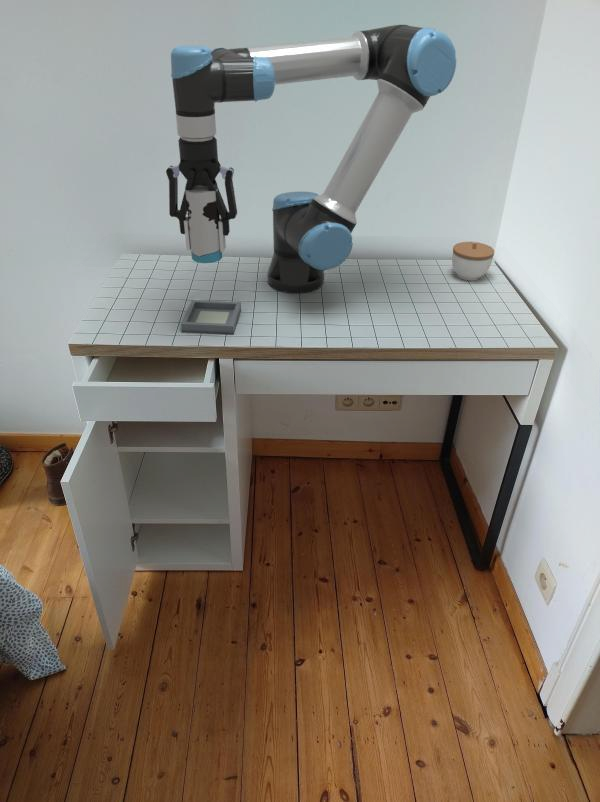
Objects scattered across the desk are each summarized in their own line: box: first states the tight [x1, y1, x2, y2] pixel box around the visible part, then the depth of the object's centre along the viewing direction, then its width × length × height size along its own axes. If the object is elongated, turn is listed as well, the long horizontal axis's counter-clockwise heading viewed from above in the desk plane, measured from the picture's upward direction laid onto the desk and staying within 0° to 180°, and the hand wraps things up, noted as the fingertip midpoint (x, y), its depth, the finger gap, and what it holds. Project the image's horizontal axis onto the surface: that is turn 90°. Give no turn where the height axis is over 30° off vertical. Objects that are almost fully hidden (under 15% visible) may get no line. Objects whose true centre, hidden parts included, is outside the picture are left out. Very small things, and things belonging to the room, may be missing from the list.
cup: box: [184, 185, 223, 264], centre depth 130 cm, size 7×7×15 cm
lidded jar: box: [451, 241, 495, 281], centre depth 163 cm, size 11×11×9 cm
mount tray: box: [180, 299, 242, 336], centre depth 143 cm, size 12×12×2 cm
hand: (206, 248), depth 133 cm, fingers closed on cup, 7 cm apart
